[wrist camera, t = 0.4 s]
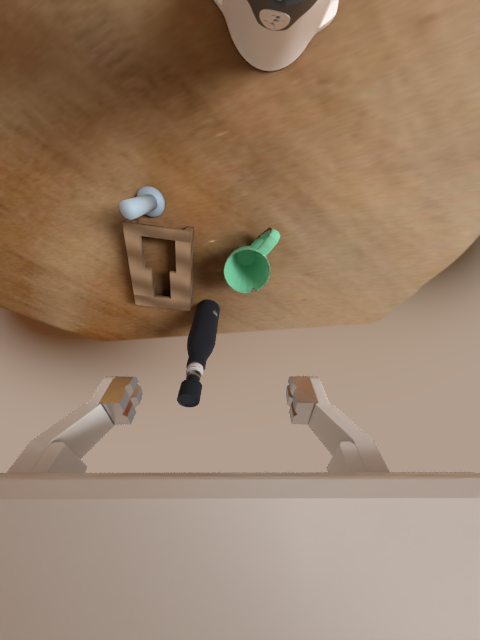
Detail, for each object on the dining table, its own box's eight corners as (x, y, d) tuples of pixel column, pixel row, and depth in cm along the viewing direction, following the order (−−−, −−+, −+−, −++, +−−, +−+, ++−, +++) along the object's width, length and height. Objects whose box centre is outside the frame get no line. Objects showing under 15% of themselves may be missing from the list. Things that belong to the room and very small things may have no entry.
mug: (249, 282, 57) (250, 300, 49) (218, 260, 54) (214, 276, 45) (287, 236, 50) (297, 249, 42) (255, 208, 47) (258, 216, 39)
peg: (137, 184, 44) (107, 188, 34) (164, 188, 45) (143, 193, 35) (140, 213, 47) (114, 225, 38) (166, 217, 48) (147, 229, 38)
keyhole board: (130, 218, 48) (122, 222, 44) (193, 227, 49) (190, 231, 45) (142, 296, 59) (135, 304, 56) (192, 302, 60) (189, 310, 57)
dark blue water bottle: (195, 314, 63) (166, 407, 38) (200, 296, 59) (173, 385, 35) (216, 320, 64) (201, 414, 40) (222, 303, 61) (211, 394, 36)
